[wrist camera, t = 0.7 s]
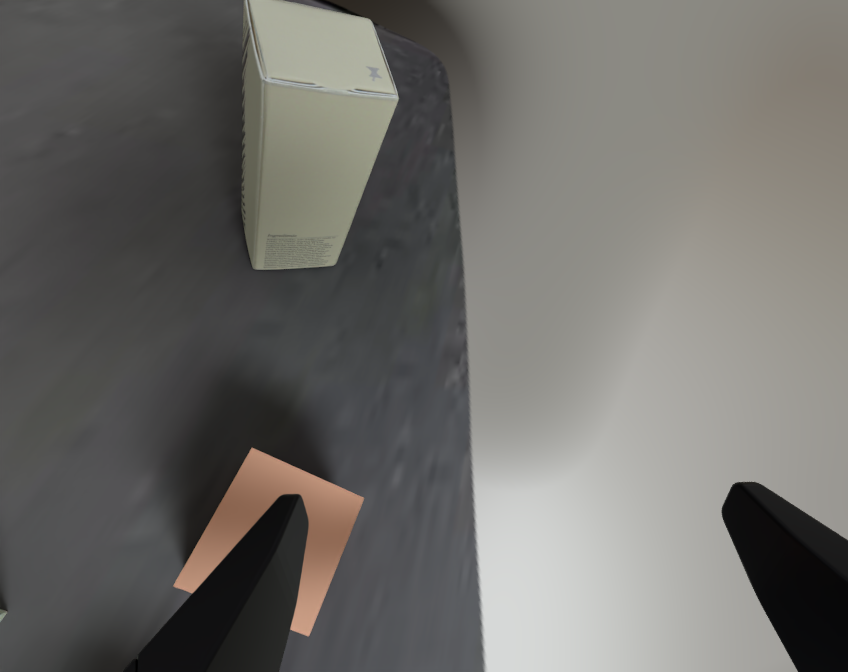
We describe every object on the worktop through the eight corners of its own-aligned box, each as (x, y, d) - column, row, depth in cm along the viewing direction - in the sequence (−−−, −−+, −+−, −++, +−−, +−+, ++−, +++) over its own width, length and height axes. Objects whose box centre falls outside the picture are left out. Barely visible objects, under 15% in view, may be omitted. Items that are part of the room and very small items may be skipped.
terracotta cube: (291, 612, 20) (308, 636, 15) (185, 572, 19) (172, 586, 14) (337, 502, 22) (364, 498, 18) (246, 462, 21) (251, 447, 17)
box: (321, 211, 28) (380, 16, 17) (335, 269, 27) (408, 98, 16) (235, 210, 26) (240, -17, 15) (246, 274, 25) (261, 77, 14)
